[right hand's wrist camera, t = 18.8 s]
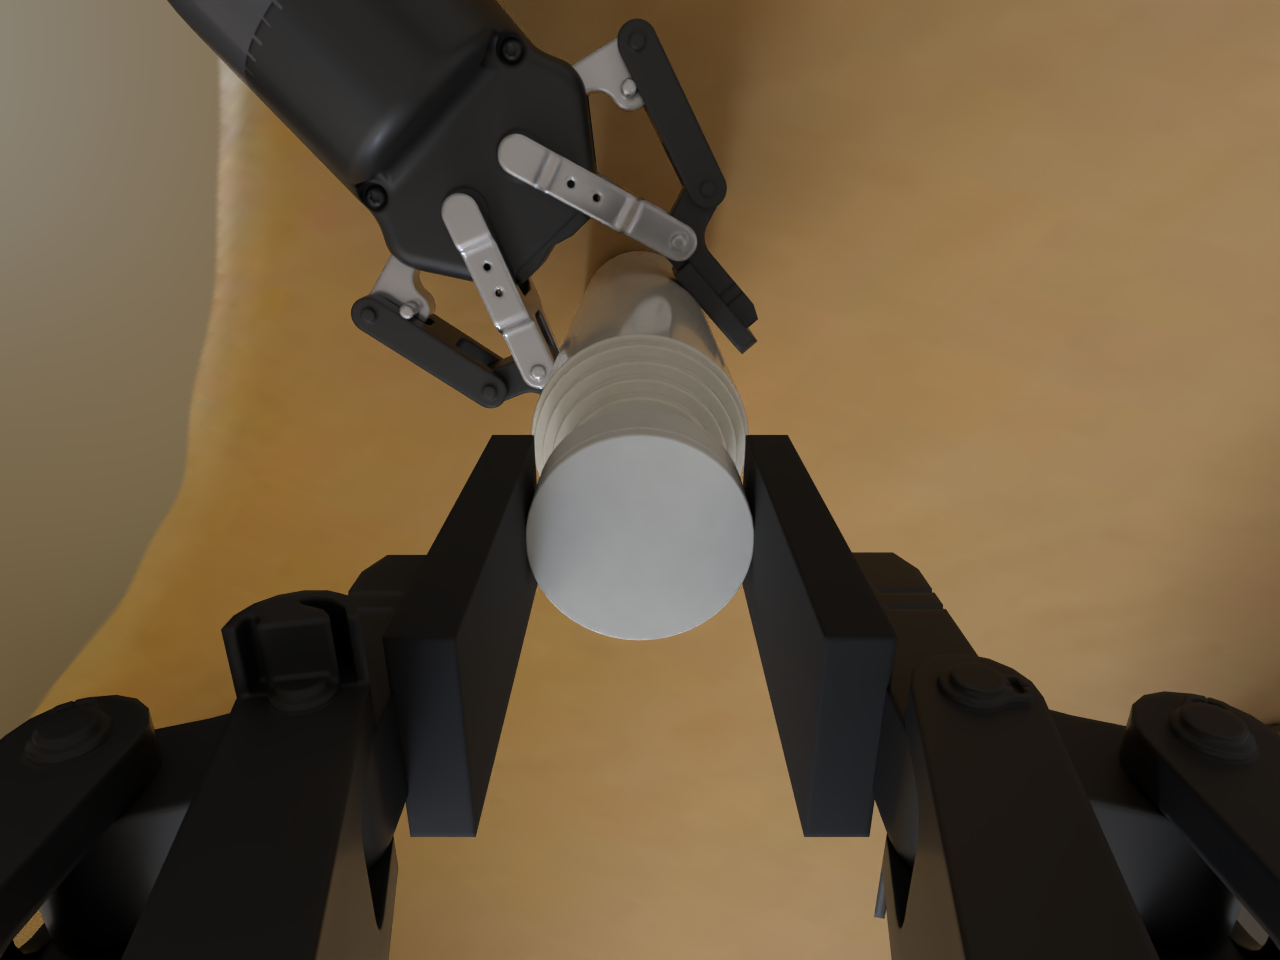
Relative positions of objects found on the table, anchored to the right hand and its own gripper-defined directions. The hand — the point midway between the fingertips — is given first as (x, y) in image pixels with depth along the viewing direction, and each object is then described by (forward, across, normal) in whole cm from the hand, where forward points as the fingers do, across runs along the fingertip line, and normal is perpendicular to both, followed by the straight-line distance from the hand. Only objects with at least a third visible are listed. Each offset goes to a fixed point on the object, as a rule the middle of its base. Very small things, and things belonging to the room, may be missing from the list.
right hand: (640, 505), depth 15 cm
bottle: (+21, 0, 0) cm, 21 cm away
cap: (-1, 0, 0) cm, 1 cm away
